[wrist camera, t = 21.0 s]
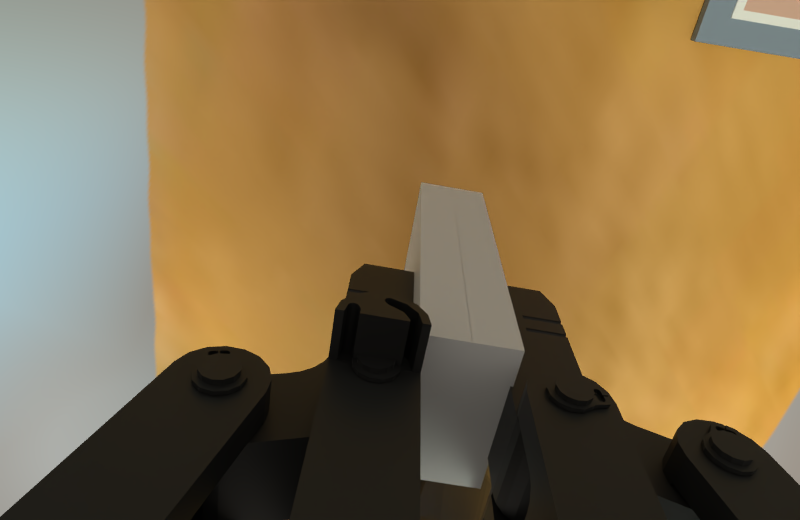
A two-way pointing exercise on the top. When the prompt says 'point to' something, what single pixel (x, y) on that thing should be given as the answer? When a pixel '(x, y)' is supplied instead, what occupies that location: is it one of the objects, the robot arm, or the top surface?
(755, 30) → the picture board
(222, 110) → the top surface
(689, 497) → the robot arm
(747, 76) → the top surface
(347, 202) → the top surface
